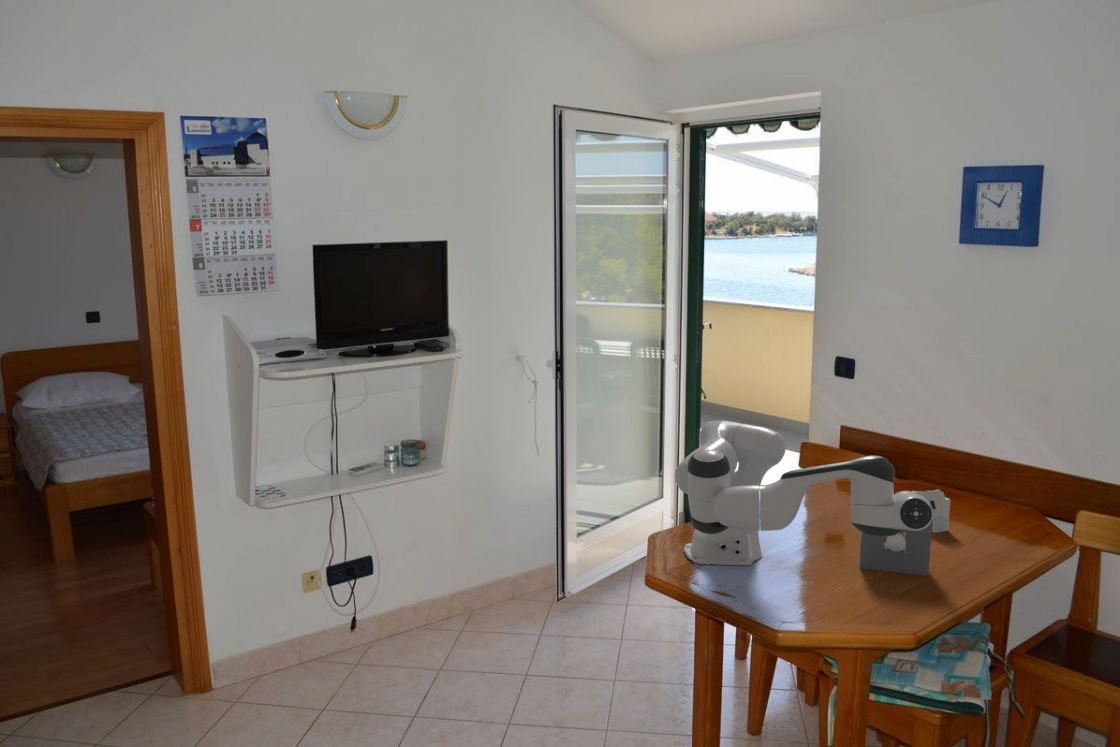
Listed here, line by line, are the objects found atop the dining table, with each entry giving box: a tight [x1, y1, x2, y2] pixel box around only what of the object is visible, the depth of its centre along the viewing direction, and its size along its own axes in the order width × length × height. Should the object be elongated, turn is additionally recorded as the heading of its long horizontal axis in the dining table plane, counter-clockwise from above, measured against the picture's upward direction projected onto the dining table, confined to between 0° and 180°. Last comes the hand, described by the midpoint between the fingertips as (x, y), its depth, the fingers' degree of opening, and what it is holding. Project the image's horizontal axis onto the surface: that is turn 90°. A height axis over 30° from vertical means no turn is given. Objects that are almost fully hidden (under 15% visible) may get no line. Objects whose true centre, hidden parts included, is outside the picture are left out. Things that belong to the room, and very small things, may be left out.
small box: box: [932, 496, 951, 534], centre depth 281 cm, size 8×6×10 cm
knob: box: [885, 532, 906, 552], centre depth 251 cm, size 11×5×5 cm, turn 164°
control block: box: [858, 520, 933, 577], centre depth 249 cm, size 6×18×18 cm, turn 74°
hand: (900, 505), depth 231 cm, fingers closed
